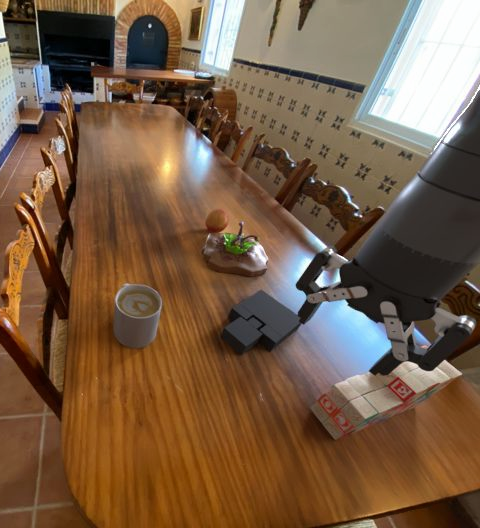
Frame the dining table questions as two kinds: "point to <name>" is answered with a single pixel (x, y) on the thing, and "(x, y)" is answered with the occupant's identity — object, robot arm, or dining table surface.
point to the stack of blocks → (379, 396)
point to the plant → (235, 253)
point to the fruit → (216, 221)
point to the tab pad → (242, 334)
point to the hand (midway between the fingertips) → (337, 343)
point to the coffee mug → (136, 315)
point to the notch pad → (267, 318)
